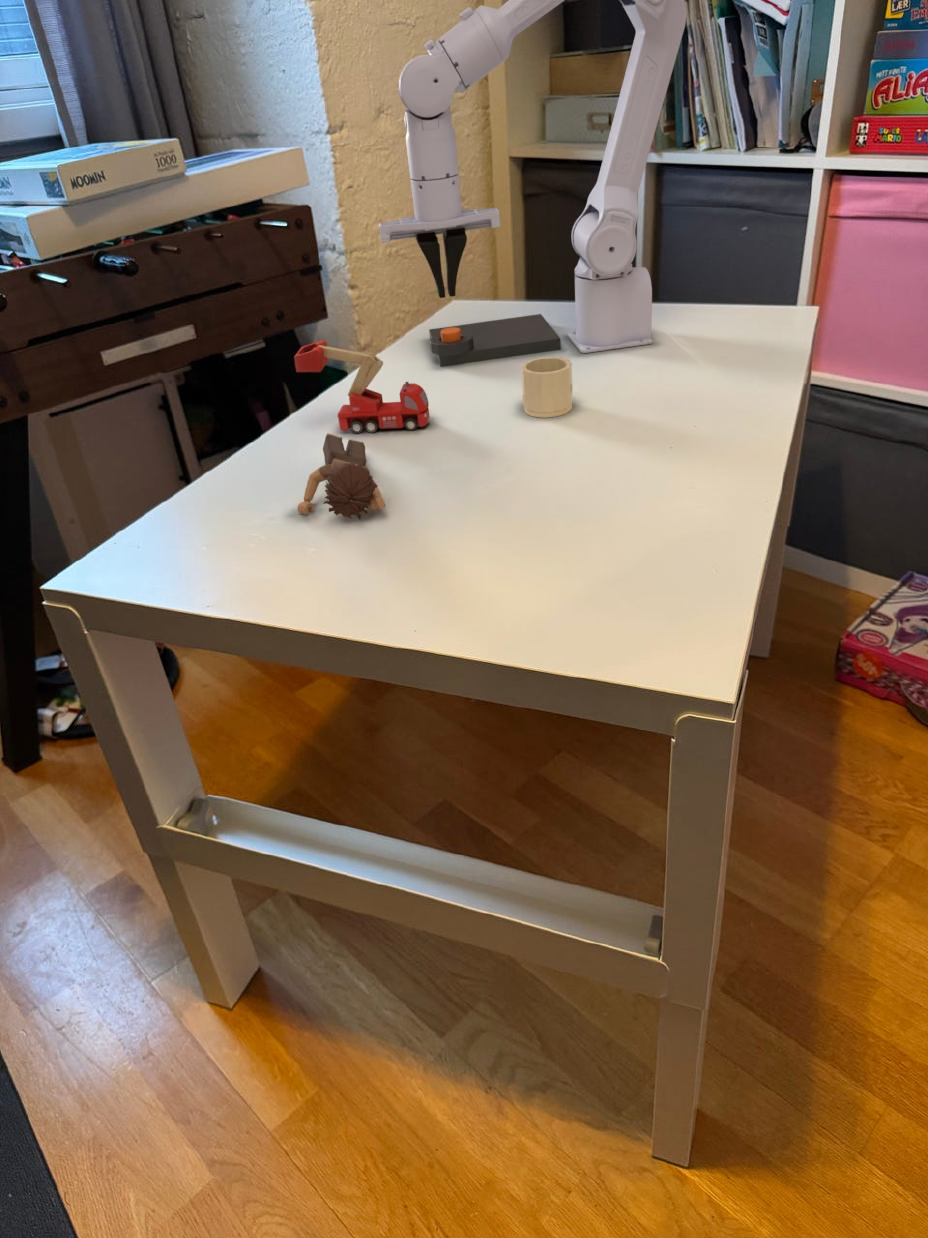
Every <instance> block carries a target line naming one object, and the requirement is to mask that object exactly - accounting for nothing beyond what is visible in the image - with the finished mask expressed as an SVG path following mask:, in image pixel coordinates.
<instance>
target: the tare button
mask: <svg viewBox="0 0 928 1238" xmlns="http://www.w3.org/2000/svg"><path fill="white" fill-rule="evenodd" d="M450 327H451V326H450ZM458 340H461V330H460V328H456V327H451V328H445V329H443V330H441V341H442V342H454V341H458Z"/></svg>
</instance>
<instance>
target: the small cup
mask: <svg viewBox="0 0 928 1238" xmlns="http://www.w3.org/2000/svg"><path fill="white" fill-rule="evenodd" d="M520 371H521V387H522V405H523V411H524V413H525V414H526V415H529V416H531V417H533V418H540V419H541V418H544V419H545V418H547V419H548V418H555V417H559V416H563V415H566V414H568V413H569V412H570V411H572V409H573V401H574V400H573V399H574V398H573V397H574V396H573V363H572V362H571V360H570V359H568V358H564V357H561V356H560V357H559V356H541V357H536V358H531V359H529V360H527V361H525V362H523V363H522V365H521V366H520Z"/></svg>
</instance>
